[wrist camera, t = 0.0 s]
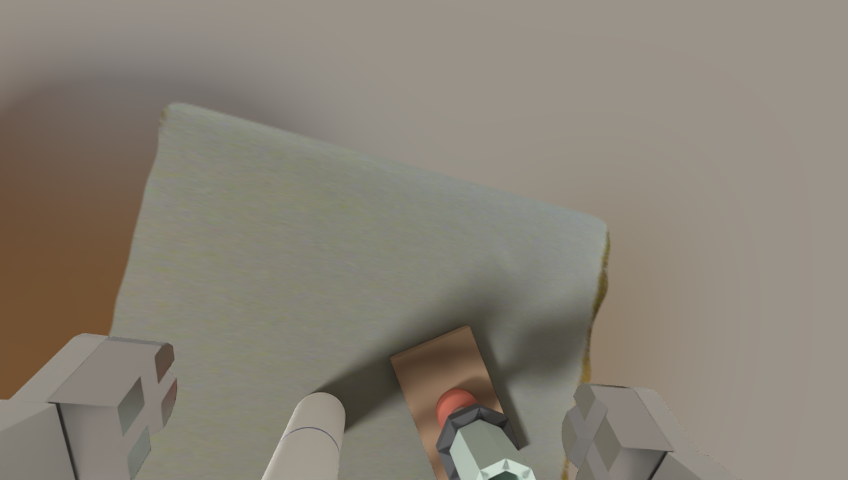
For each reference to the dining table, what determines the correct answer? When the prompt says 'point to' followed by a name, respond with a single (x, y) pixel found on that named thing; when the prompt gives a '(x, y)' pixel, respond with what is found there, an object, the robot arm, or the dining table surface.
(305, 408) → the cylindrical container
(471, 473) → the sleeve
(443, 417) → the pipe stand
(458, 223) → the dining table surface
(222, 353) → the dining table surface
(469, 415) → the o ring
